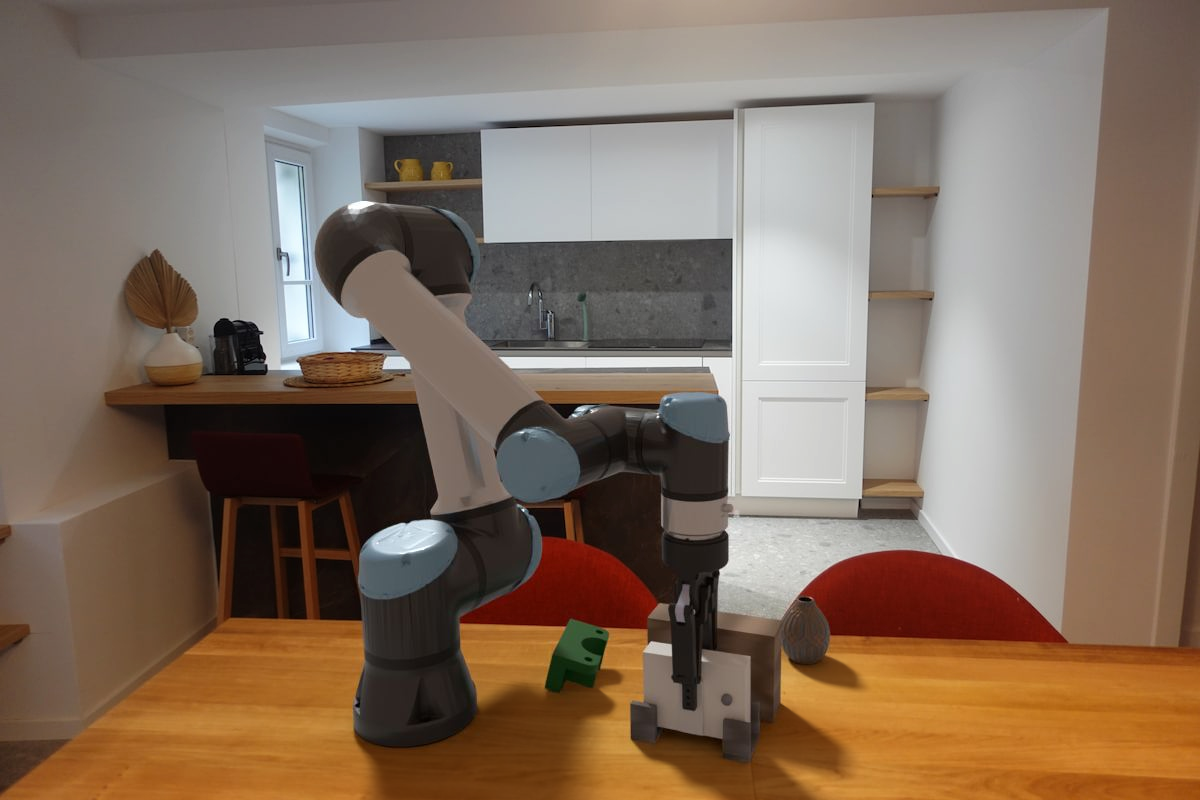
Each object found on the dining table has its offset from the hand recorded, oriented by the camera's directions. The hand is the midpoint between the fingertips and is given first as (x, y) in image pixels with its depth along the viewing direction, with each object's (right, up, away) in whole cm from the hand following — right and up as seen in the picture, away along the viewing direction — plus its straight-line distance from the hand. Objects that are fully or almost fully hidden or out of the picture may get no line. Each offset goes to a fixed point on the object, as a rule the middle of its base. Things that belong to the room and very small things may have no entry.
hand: (696, 723), depth 95 cm
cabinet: (+2, -1, +4) cm, 5 cm away
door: (0, 0, 0) cm, 0 cm away
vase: (+18, +1, +20) cm, 26 cm away
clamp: (-14, 0, +16) cm, 21 cm away
